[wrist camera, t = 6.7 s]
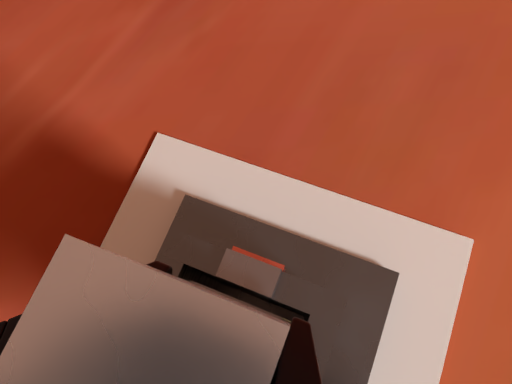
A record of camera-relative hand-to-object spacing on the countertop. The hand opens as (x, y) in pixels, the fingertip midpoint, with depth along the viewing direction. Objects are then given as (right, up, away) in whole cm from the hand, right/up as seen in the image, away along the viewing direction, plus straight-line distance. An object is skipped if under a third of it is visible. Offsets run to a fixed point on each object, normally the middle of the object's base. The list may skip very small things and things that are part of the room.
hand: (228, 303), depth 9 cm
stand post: (0, -3, +6) cm, 7 cm away
